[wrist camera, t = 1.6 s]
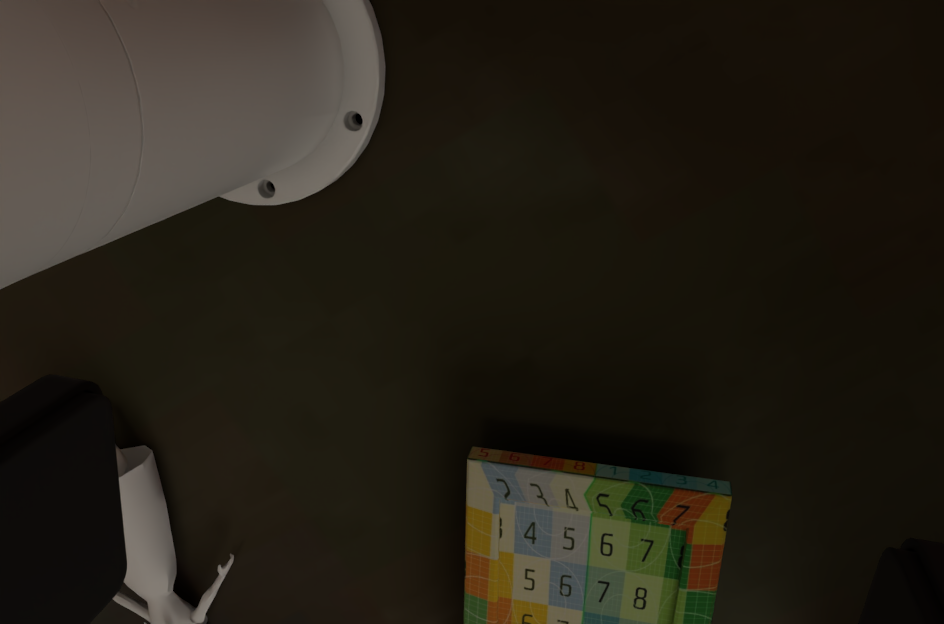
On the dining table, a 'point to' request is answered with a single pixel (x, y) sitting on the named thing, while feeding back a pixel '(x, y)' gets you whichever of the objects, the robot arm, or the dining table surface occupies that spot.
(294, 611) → the dining table surface
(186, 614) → the woman figurine
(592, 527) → the puzzle game
